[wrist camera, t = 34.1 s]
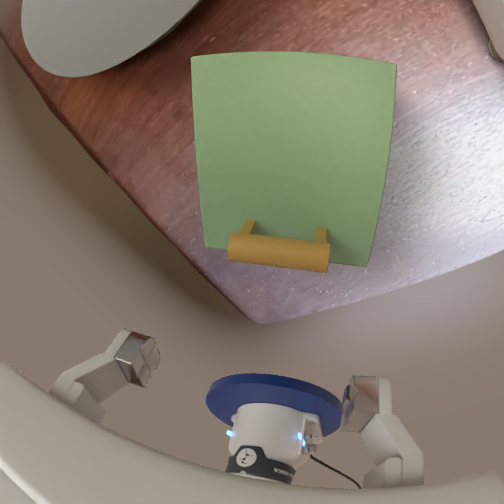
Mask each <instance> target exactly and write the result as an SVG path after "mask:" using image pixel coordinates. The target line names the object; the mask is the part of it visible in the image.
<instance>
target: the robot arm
mask: <svg viewBox="0 0 504 504" xmlns="http://www.w3.org/2000/svg"><path fill="white" fill-rule="evenodd" d="M155 344H156V342H155V339H154V338H152V337H149V336H145V335H142V334H139V333H136V332H133V331H130V330H127V329H123V330H121V331H120V332H119V334H118V335H117V336H116V338H115V339H114V341H113V342H112V343H111V345H110V346H109V348H108V349H107V350H106V352H105V353H104V354H102V353H101V354H99V355H97V356H95V357H93V358H91V359H89V360H87V361H85V362H83V363H81V364H79V365H77V366H75V367H73V368H70V369H68V370H66V371H64V372H63V373H62V374H61V376H60V377H59V378H58V380H57V381H56V383H55V384H54V385H53V387H52V388H51V390H50V391H49V392H47V391H46V390H45V389H43V388H42V387H40V386H39V385H37V384H36V383H35V382H33V381H32V380H31V379H29V378H28V377H27V376H25V375H24V374H23V373H22V372H20V371H19V370H18V369H17V368H15V367H14V366H13V365H12V364H10V363H9V362H1V363H0V504H504V480H503V478H502V477H501V476H500V475H499V474H498V473H497V472H496V471H493V470H489V471H485V472H482V473H478V474H474V475H470V476H466V477H462V478H457V479H453V480H447V481H442V482H436V483H429V484H424V455H423V453H422V452H421V450H420V449H419V447H418V446H417V444H416V443H415V441H414V440H413V438H412V437H411V436H410V434H409V433H408V431H407V430H406V428H405V427H404V426H403V424H402V423H401V421H400V420H399V418H398V417H397V416H396V414H392V396H391V381H390V379H389V378H386V377H372V376H354V375H353V376H352V377H351V379H350V385H348V386H347V387H346V389H345V392H344V396H343V403H342V408H343V409H344V413H343V415H342V416H341V427H340V431H348V432H360V435H361V437H362V438H363V441H364V443H365V445H366V447H367V448H368V451H369V452H370V454H371V456H372V459H373V460H374V462H375V464H376V466H377V467H375V468H374V469H372V470H371V471H370V472H368V473H367V474H365V475H364V481H363V488H362V489H361V487H360V486H359V484H358V483H357V482H355V481H354V480H353V479H352V478H350V477H348V476H347V475H345V474H343V473H341V472H340V471H338V470H336V469H334V468H332V467H330V466H328V465H327V464H325V463H323V462H322V461H320V460H318V459H316V458H315V457H313V456H312V455H311V454H316V447H317V446H316V444H320V443H322V442H323V434H322V428H321V423H320V418H319V416H318V415H316V414H311V413H305V412H301V411H298V410H296V409H293V408H290V407H286V406H282V405H277V404H270V403H249V404H245V405H242V406H240V407H239V408H238V410H237V413H236V414H234V415H232V418H231V421H232V422H234V425H233V430H232V432H230V431H229V430H228V431H227V434H228V435H229V436H231V439H230V444H229V451H230V452H231V454H232V456H231V457H229V460H228V463H227V465H226V471H225V472H224V471H220V470H217V469H213V468H209V467H206V466H203V465H199V464H196V463H193V462H190V461H187V460H184V459H181V458H178V457H175V456H172V455H169V454H167V453H164V452H161V451H159V450H157V449H154V448H151V447H149V446H147V445H144V444H142V443H140V442H137V441H135V440H133V439H130V438H128V437H126V436H124V435H122V434H120V433H118V432H116V431H114V430H112V429H110V428H108V427H106V426H104V425H102V424H100V423H101V421H102V419H103V417H104V415H105V414H106V413H105V410H104V409H103V408H102V407H101V405H100V403H101V402H103V401H104V400H106V399H107V398H109V397H110V396H112V395H113V394H115V393H116V392H117V391H119V390H120V389H122V388H123V387H125V386H126V385H128V384H129V382H130V383H133V384H135V385H138V386H141V387H144V388H145V387H146V386H147V384H148V382H149V380H150V379H151V371H153V370H155V369H156V368H157V366H158V364H159V360H160V352H159V350H158V348H156V347H155ZM309 458H312V459H313V460H315V461H317V462H318V463H320V464H322V465H324V466H325V467H327V468H329V469H331V470H333V471H335V472H337V473H339V474H341V475H343V476H344V477H346V478H348V479H350V480H351V481H352V482H354V483H355V484H356V485H357V486H358V487H359V489H343V488H322V487H309V486H300V485H292V484H291V481H292V480H293V478H294V474H295V469H296V468H297V467H299V466H300V465H301V464H303V463H304V462H306V461H307V460H308V459H309Z"/></svg>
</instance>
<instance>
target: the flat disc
mask: <svg viewBox="0 0 504 504" xmlns="http://www.w3.org/2000/svg"><path fill="white" fill-rule="evenodd" d="M202 1H203V0H23V4H22V14H21V23H22V33H23V37H24V41H25V44H26V47H27V49H28V51H29V53H30V55H31V56H32V58H33V59H34V60H35V61H36V63H37V64H38V65H39V66H41V67H42V68H43V69H45V70H46V71H48V72H50V73H52V74H54V75H59V76H63V77H80V76H88V75H91V74H95V73H98V72H102V71H104V70H106V69H109V68H111V67H113V66H116V65H118V64H119V63H121V62H123V61H125V60H127V59H129V58H130V57H132V56H134V55H135V54H137V53H138V52H140V51H142V50H144V49H145V48H148V47H151V46H152V45H154V44H155V43H157V42H158V41H159V40H161V39H162V38H164V37H166V36H167V35H168V34H169V33H170V32H172V31H173V30H174V29H175V28H176V27H177V26H178V25H179V23H180V22H181V21H182V20H183V19H184V18H185V17H186V16H187V15H189V14H190V13H191V12H192V11H193V10H194V9H195V8H196V6H198V5H199V4H200V3H201V2H202Z"/></svg>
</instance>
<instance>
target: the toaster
mask: <svg viewBox="0 0 504 504" xmlns="http://www.w3.org/2000/svg"><path fill="white" fill-rule="evenodd" d="M472 2H473V4H474V6H475V8H476V9H477V11H478V13H479V15H480V17H481V19H482V22H483V24H484V26H485V28H486V30H487V32H488V35H489V37H490V39H491V40H490V41H489V43H488V49H489V52H490V54H491V55H492V57H493V58H494V59H496V60H497V61H504V0H472Z"/></svg>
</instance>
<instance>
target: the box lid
mask: <svg viewBox="0 0 504 504" xmlns="http://www.w3.org/2000/svg"><path fill="white" fill-rule="evenodd" d="M396 72H397V65H396V64H392V63H388V62H382V61H377V60H371V59H365V58H359V57H352V56H344V55H335V54H325V53H311V52H290V51H255V52H234V53H221V54H210V55H201V56H193V57H191V75H192V97H193V116H194V132H195V146H196V159H197V171H198V183H199V194H200V204H201V214H202V223H203V233H204V241H205V247H207V248H215V249H224V250H228V257H229V260H230V261H236V262H243V263H251V264H259V265H267V266H275V267H283V268H291V269H299V270H307V271H315V272H323V273H326V272H327V270H328V265H329V262H330V263H339V264H347V265H355V266H363V267H367V265H368V261H369V257H370V253H371V248H372V244H373V240H374V236H375V231H376V227H377V222H378V217H379V212H380V207H381V202H382V197H383V191H384V186H385V180H386V173H387V167H388V160H389V153H390V145H391V137H392V128H393V118H394V107H395V93H396Z"/></svg>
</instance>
